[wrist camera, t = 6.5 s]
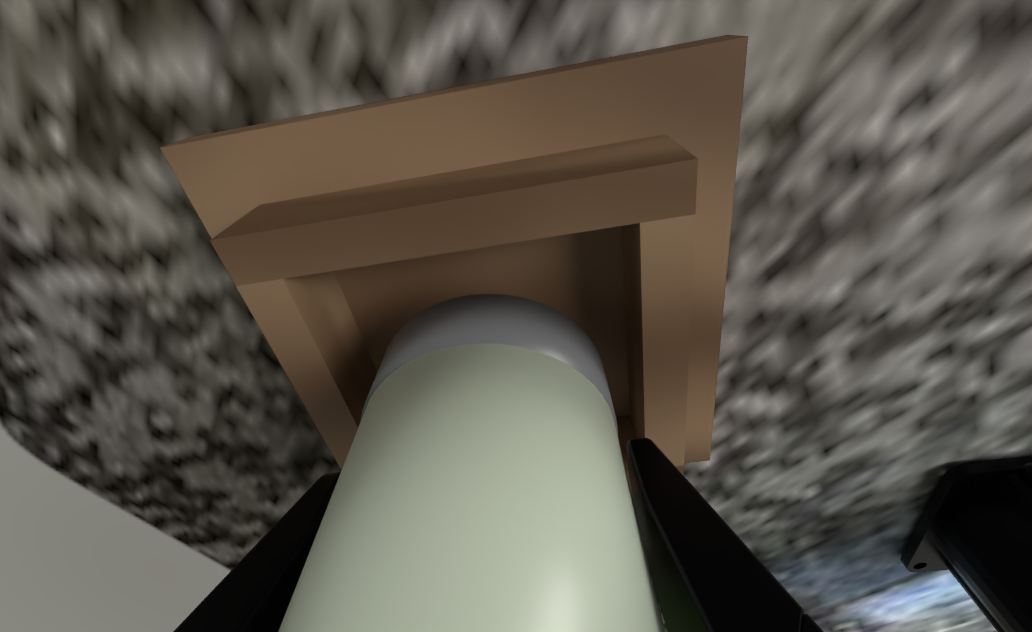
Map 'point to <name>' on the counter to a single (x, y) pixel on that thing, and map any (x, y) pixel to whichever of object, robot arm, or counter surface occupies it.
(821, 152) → the counter surface
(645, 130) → the holder
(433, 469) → the white rounded cylinder
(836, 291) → the counter surface
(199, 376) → the counter surface
